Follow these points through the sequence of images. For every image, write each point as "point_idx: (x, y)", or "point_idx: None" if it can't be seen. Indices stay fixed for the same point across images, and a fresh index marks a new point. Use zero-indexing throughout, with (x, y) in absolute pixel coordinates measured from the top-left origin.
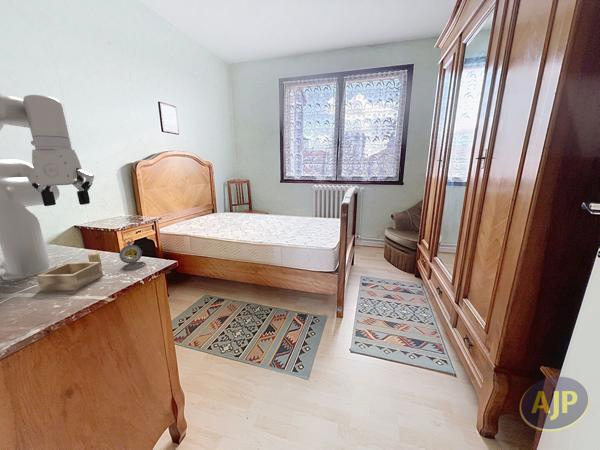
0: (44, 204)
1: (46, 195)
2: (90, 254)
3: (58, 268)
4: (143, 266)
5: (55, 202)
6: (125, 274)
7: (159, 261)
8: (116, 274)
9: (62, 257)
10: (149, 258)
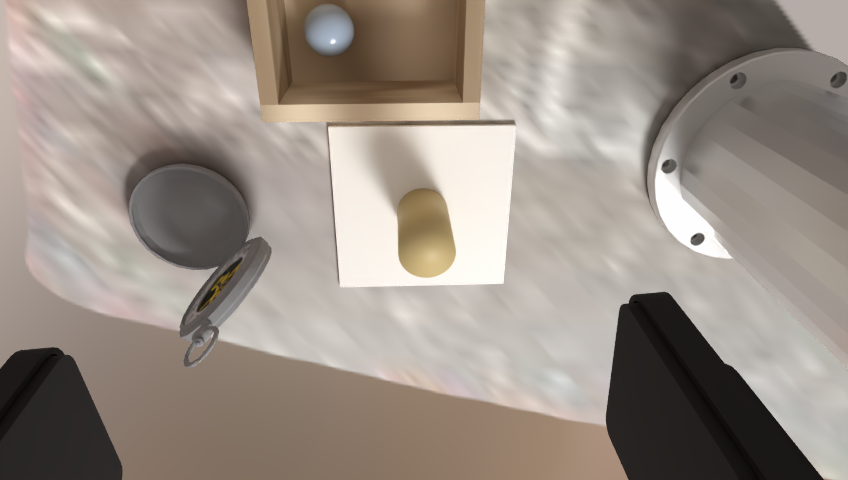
0: (664, 302)
1: (702, 469)
2: (443, 249)
3: (465, 21)
4: (132, 213)
5: (614, 447)
6: (170, 122)
7: (124, 298)
8: (226, 123)
9: (737, 354)
10: (224, 338)
